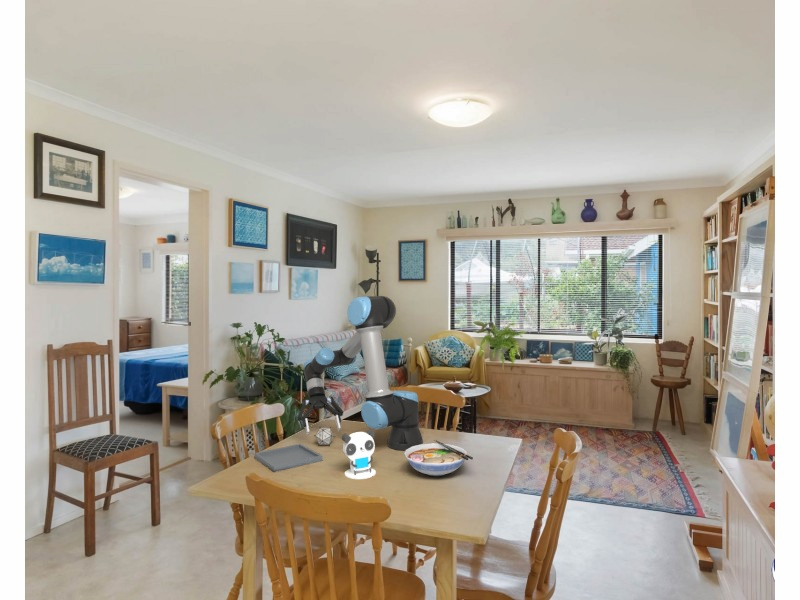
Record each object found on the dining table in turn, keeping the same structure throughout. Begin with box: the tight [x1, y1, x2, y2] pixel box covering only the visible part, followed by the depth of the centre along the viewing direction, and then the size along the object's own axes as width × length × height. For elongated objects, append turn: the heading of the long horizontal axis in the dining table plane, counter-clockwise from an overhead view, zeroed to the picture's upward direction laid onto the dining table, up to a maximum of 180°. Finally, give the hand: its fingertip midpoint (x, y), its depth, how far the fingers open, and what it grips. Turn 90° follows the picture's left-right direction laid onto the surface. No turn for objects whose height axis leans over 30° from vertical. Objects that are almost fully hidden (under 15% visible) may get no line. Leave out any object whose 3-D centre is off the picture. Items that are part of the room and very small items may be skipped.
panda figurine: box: [341, 429, 377, 480], centre depth 183 cm, size 12×11×15 cm
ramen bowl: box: [403, 439, 474, 477], centre depth 183 cm, size 25×23×8 cm
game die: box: [313, 426, 336, 447], centre depth 218 cm, size 9×8×10 cm
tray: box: [253, 443, 323, 473], centre depth 200 cm, size 20×20×2 cm
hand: (323, 431), depth 217 cm, fingers open, 13 cm apart
